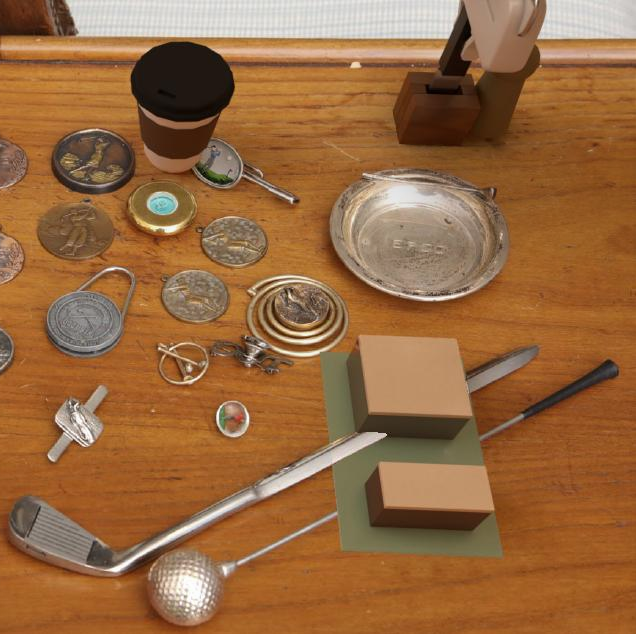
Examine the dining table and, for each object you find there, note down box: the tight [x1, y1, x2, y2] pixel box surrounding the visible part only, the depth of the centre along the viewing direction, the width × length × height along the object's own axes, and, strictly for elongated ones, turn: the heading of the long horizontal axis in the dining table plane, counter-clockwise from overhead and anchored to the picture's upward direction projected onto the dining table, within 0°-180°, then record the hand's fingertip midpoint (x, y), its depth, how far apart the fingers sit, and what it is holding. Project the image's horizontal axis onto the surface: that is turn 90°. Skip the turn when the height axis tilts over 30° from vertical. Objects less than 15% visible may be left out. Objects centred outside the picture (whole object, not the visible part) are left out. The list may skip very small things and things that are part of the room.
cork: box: [468, 43, 542, 139], centre depth 103 cm, size 6×6×11 cm
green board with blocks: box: [319, 334, 505, 559], centre depth 83 cm, size 14×20×6 cm
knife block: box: [392, 70, 481, 147], centre depth 105 cm, size 7×6×6 cm
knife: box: [426, 4, 473, 95], centre depth 100 cm, size 3×2×16 cm
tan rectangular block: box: [365, 462, 496, 531], centre depth 79 cm, size 9×4×5 cm, turn 88°
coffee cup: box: [129, 40, 236, 174], centre depth 100 cm, size 11×11×12 cm
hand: (464, 44), depth 97 cm, fingers closed on knife, 2 cm apart
